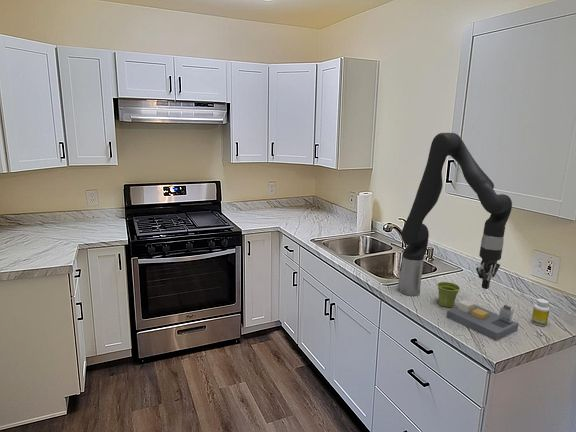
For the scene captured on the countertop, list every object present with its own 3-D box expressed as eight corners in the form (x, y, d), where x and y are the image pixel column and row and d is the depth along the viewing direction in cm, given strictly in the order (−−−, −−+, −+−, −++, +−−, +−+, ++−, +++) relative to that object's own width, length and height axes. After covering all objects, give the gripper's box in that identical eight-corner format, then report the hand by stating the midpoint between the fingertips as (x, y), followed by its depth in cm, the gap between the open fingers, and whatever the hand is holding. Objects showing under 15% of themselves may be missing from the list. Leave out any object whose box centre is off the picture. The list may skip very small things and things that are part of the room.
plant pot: (462, 306, 172) (465, 288, 170) (447, 310, 167) (449, 292, 165) (445, 298, 180) (447, 280, 178) (430, 301, 175) (432, 283, 173)
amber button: (470, 319, 159) (471, 310, 158) (476, 317, 161) (478, 308, 160) (480, 324, 155) (482, 315, 154) (487, 321, 157) (488, 312, 156)
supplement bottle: (547, 327, 155) (552, 304, 153) (532, 324, 157) (536, 302, 155) (544, 321, 160) (549, 299, 158) (529, 318, 162) (533, 296, 160)
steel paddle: (498, 319, 154) (501, 304, 153) (500, 318, 155) (503, 303, 154) (509, 323, 151) (511, 308, 150) (511, 322, 152) (513, 307, 150)
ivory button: (457, 310, 163) (458, 302, 162) (463, 308, 165) (465, 299, 165) (467, 315, 159) (468, 306, 158) (473, 312, 162) (475, 303, 161)
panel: (446, 317, 162) (447, 310, 161) (467, 308, 170) (468, 302, 169) (496, 340, 145) (497, 333, 144) (517, 330, 153) (518, 322, 152)
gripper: (491, 241, 157) (485, 281, 161) (472, 246, 150) (466, 288, 154) (510, 246, 151) (503, 288, 155) (491, 251, 144) (484, 295, 148)
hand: (485, 288), depth 155 cm, fingers closed
